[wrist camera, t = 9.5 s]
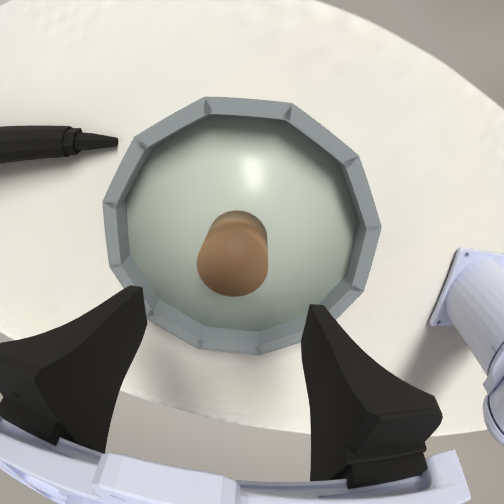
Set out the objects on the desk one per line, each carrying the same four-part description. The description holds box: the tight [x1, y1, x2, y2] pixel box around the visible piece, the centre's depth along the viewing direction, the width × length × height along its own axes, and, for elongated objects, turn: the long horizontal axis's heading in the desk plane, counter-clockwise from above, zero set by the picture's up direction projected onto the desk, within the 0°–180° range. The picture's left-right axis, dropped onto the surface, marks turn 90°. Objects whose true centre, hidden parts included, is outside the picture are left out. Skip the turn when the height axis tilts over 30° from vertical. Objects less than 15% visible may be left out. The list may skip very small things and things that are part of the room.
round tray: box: [103, 97, 381, 355], centre depth 20 cm, size 18×18×2 cm
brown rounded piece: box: [197, 210, 268, 297], centre depth 19 cm, size 4×4×4 cm
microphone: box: [0, 126, 118, 163], centre depth 17 cm, size 6×6×20 cm
